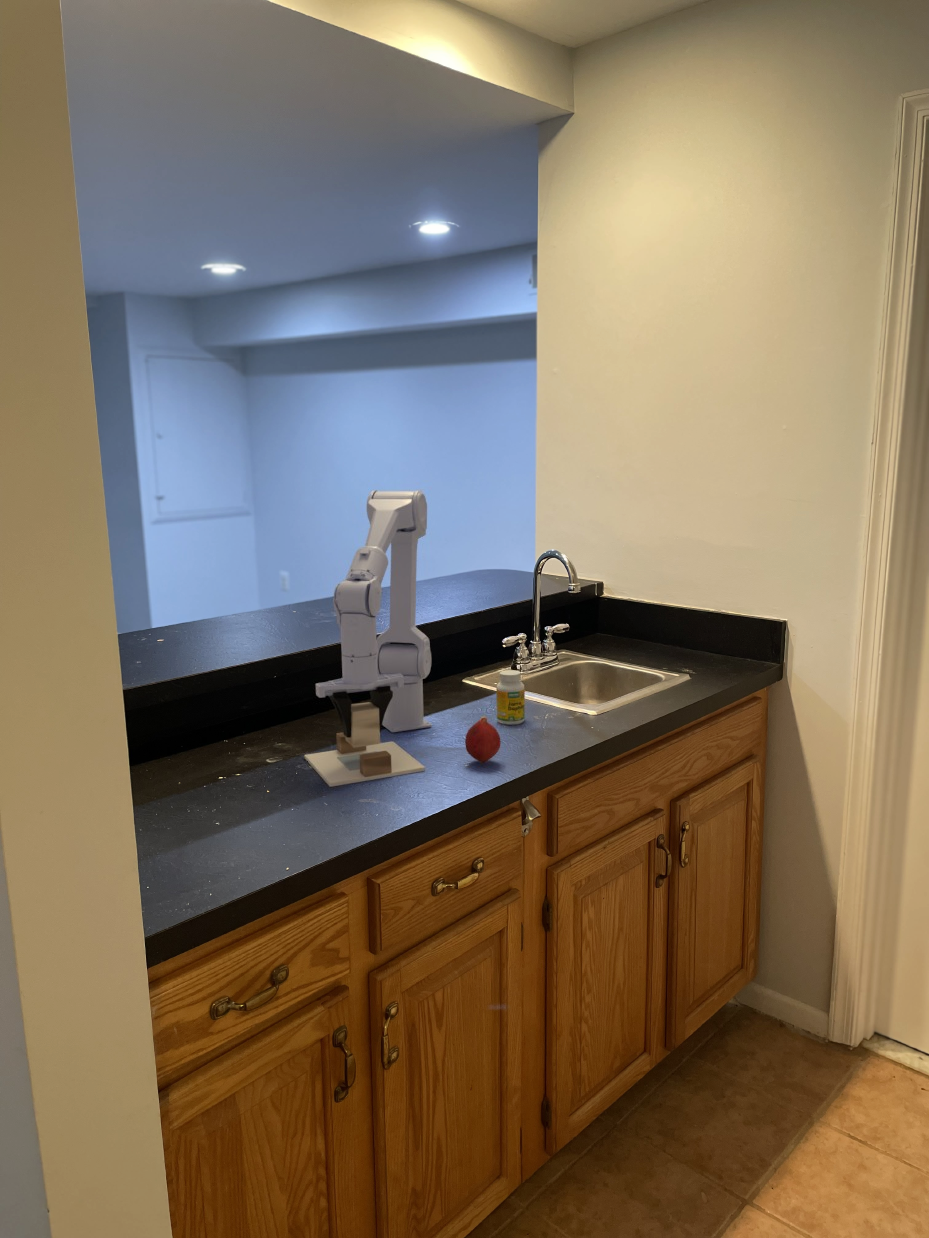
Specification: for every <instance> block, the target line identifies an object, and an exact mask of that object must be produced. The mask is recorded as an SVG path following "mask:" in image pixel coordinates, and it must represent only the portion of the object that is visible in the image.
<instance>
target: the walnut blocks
mask: <svg viewBox="0 0 929 1238" xmlns="http://www.w3.org/2000/svg"><path fill="white" fill-rule="evenodd" d="M335 735H336V750H338V751H339V752H340V753H341V754H345V753H351V752H357V751H364V750H366V746H362V747H356V748H354V747H352V746H351V745H350V744H349V743H348V742H347V741H346V738H345V735H344V733H343V731H342V732H336V734H335ZM359 757H360V773H361V774H362V775H363V776H364V777H370V776H376V775H382V774H388V773H392V769H391V754H389V753H388V752H387V751H380V752H374V753H367V754H361V755H359Z"/></svg>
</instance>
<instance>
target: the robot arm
mask: <svg viewBox="0 0 929 1238" xmlns="http://www.w3.org/2000/svg"><path fill="white" fill-rule="evenodd" d="M366 516H367V518H368V521H369V522H368V523H369V528H368V529H369V530H368V533H367V536H366V542H365V544H364V546H362V547H360V548H358V549H357V550H356V552H355V554H354V556H353V558H352V561H351V565H350V566H349V570H348V572H347V575H346V578H345V579H343V580H342V581H340V582H339V583H337V584H336V586H335V588H334V591H333V600H332V601H333V603H332V604H333V609H334V612H335V614H336V624H337V626H338V627H340V645H341V647H340V648H341V668H342V669H341V671H342V677H341V678H337V679H333V680H328V681H325V682H318V683H315V695H316V696H317V697H318V698H319V699H321V698H326V696H328V697H329V699H330V701H331V702H332V704H333V706H334V708H335V711H336V713H337V715H338V718H339V720H340V725H341V729H342V732H343V733H344V735H345V736H346V737H347V738H349V737H351V704H353V703H352V702H353V700H351V698H349V697H350V696H349V695H348V694H349V693H351V694H352V693H360V692H368V691H369V695H370V701H371V703H372V704H373V705H375V706H376V707H377V708H379V726H380V734H381V732H382V728H383V727H385V728H386V729H387V730H388V731H389V732H391V733H397V732H398V733H399V732H404V731H413V730H418V729H424V728H426V729H427V728H431V727H432V723H430V722H429V721H427V720H426V719H425V718H424V693H423V692H424V691H423V689H424V687H423V679H426V678H427V677H428V676H429V674H430V672H431V667H432V651H431V647H430V646H431V645H430V643H431V642H430V638H429V637H428V636H427V635H426V634H425V633H424V632H422V631H421V630H420V629H418V627H417V626H416V605H417V604H416V603H417V602H416V601H417V562H418V560H417V555H418V552H417V551H418V543H419V539H420V538H422V537H425V536H426V535H427V529H428V528H427V527H428V504H427V498H426V496H425V494H424V493H423V492H422V490H419V489H417V490H401V491H400V490H384V491H383V490H371V492H370V493H369V494H368V497H367V499H366ZM389 547H390V579H389V580H390V583H389V584H390V590H389V592H390V593H389V628H387V629H386V630H384V631H382V633H380V634H379V635H378V636H377V621H376V619H377V617H376V616H377V615H378V614H379V611H380V609H381V604H382V603H381V601H382V593H383V592H382V591H383V588H382V583H383V580H384V578H385V574H386V571H387V569H388V565H389V559H388V556H387V555H386V553H387V551H388V549H389ZM395 643H402V644H395ZM403 643H405V644H403ZM382 726H383V727H382Z"/></svg>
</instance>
